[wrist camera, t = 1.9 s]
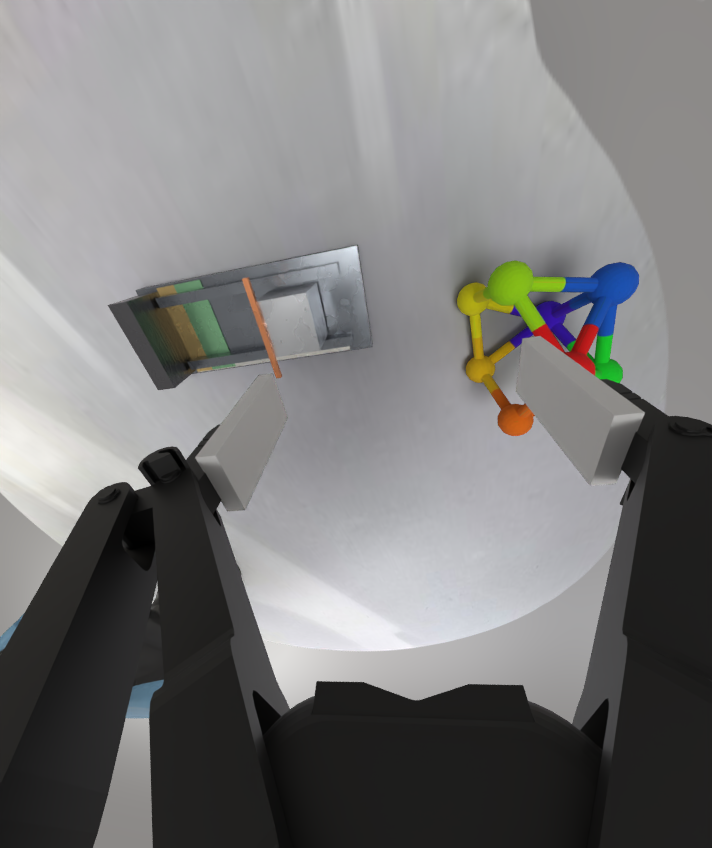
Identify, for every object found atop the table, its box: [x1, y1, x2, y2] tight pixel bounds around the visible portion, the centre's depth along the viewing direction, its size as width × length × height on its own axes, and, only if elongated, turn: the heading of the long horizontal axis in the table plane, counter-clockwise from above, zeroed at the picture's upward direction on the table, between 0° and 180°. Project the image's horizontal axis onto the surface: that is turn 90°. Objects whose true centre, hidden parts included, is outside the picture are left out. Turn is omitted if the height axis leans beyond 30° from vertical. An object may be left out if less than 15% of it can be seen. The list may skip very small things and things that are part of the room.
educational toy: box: [457, 261, 639, 436], centre depth 27 cm, size 16×13×15 cm
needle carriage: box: [242, 277, 328, 378], centre depth 30 cm, size 5×9×6 cm, turn 10°
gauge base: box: [108, 245, 372, 390], centre depth 32 cm, size 24×10×6 cm, turn 100°
